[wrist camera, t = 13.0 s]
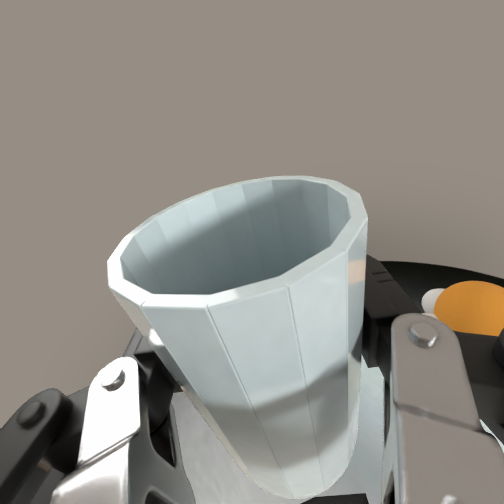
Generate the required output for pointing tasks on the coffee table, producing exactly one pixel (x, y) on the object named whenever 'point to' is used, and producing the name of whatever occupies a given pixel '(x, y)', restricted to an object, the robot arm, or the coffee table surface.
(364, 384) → the coffee table surface
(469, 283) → the toy
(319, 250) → the plastic cup
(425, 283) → the coffee table surface
